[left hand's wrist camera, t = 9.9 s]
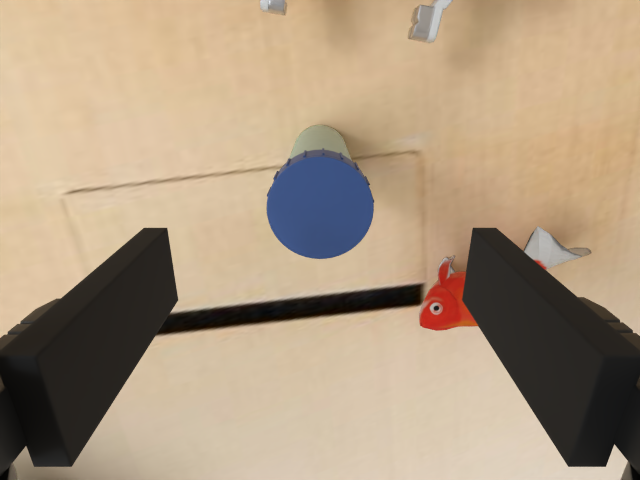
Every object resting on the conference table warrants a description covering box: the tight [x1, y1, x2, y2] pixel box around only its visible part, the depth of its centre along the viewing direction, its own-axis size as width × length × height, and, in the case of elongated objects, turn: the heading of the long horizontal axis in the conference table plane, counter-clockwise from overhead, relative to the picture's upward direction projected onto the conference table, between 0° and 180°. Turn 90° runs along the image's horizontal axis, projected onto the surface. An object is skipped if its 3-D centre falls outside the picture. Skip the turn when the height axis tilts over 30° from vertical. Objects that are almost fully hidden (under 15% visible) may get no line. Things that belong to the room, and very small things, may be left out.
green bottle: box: [290, 125, 352, 161], centre depth 27 cm, size 4×4×16 cm
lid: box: [267, 148, 374, 259], centre depth 20 cm, size 5×5×2 cm
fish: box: [419, 226, 591, 330], centre depth 34 cm, size 11×16×10 cm
